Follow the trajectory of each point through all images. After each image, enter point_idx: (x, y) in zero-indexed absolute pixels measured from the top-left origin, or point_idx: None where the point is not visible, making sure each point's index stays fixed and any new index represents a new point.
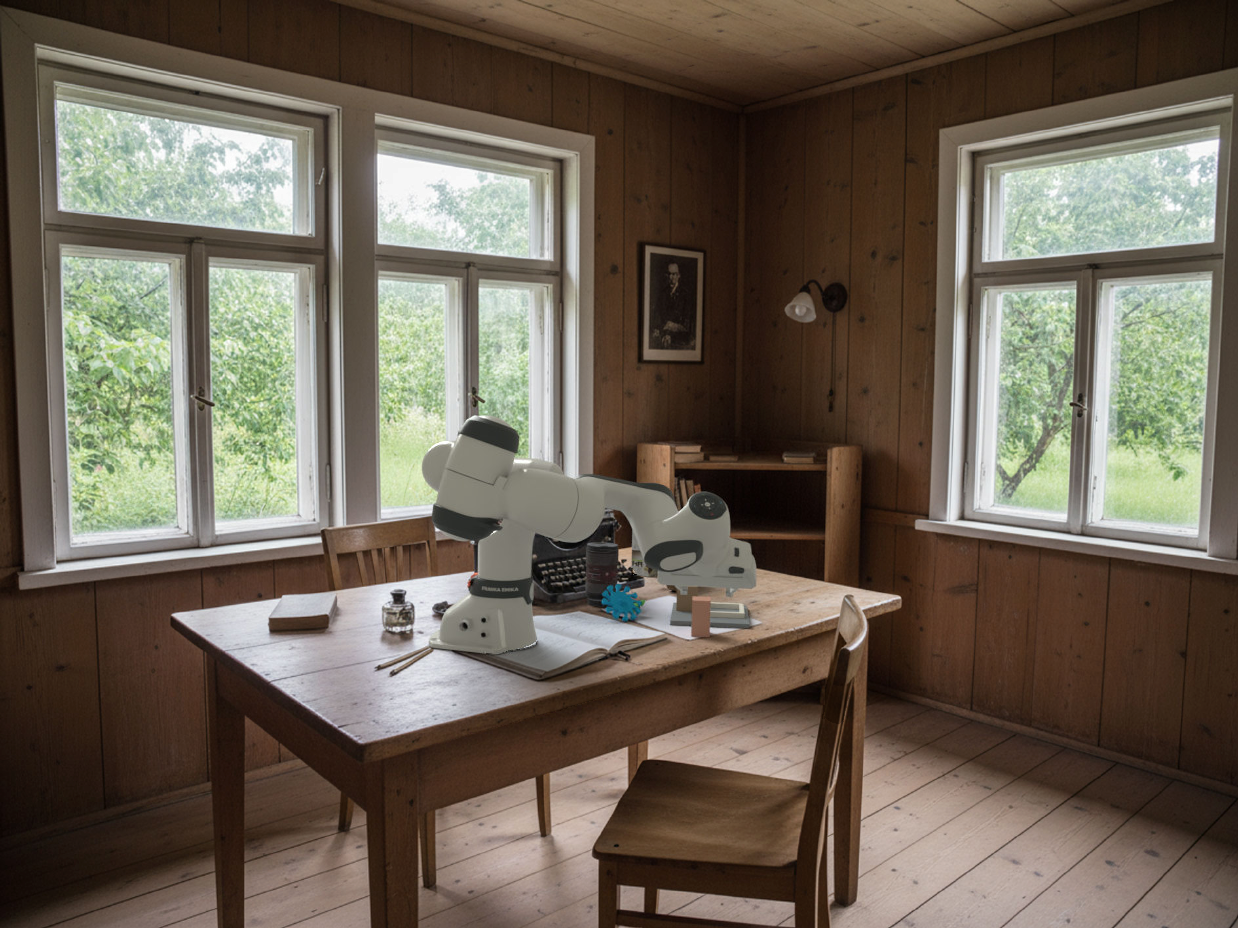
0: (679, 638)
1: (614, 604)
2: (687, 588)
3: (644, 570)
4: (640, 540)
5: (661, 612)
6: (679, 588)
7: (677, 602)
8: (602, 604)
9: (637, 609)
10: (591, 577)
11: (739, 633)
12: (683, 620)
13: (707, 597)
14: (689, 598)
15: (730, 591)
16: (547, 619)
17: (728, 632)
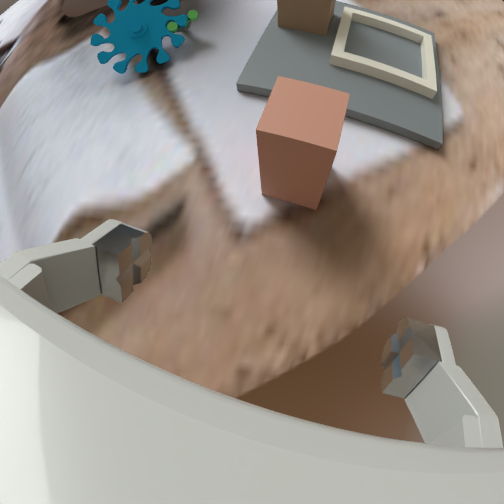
0: (218, 212)
1: (116, 41)
2: (138, 249)
3: None
4: None
5: (250, 20)
6: (65, 305)
7: (280, 11)
8: (151, 2)
9: (174, 38)
10: None
11: (409, 186)
12: (272, 85)
13: (335, 96)
14: (309, 8)
15: (412, 400)
16: (34, 82)
17: (382, 171)
